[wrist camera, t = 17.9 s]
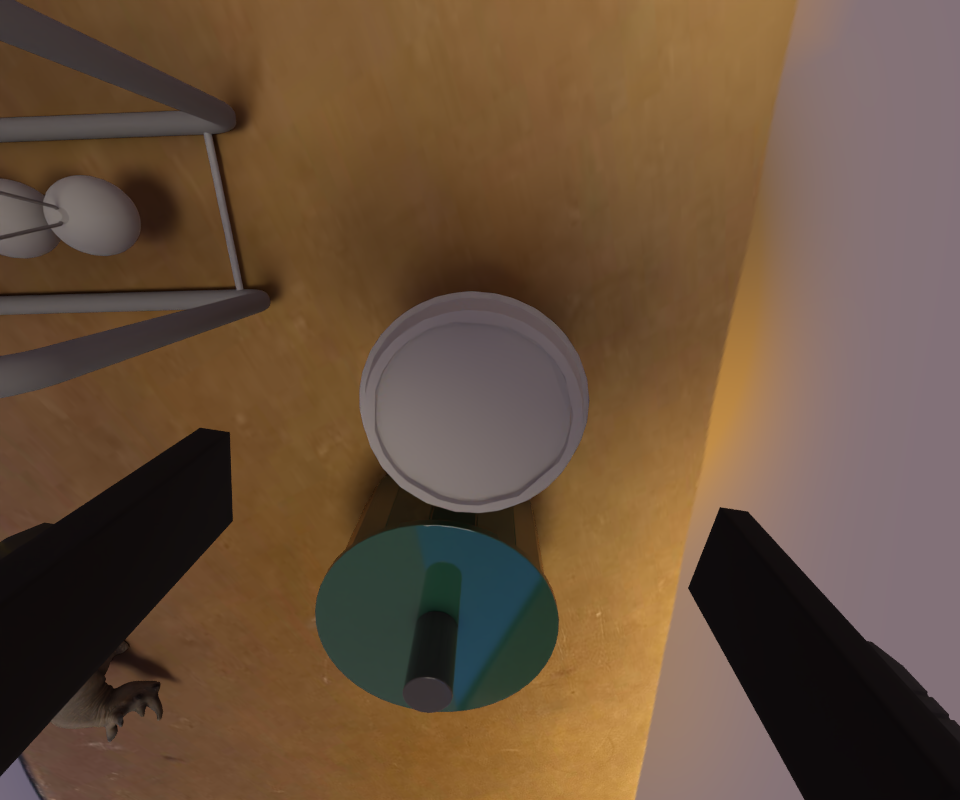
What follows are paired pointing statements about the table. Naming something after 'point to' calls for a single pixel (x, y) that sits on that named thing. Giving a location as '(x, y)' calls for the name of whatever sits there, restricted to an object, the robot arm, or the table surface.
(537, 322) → the disposable coffee cup
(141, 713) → the rhino figurine
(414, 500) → the pot
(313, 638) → the table surface
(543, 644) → the pot lid
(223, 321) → the newton's cradle
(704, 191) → the table surface
